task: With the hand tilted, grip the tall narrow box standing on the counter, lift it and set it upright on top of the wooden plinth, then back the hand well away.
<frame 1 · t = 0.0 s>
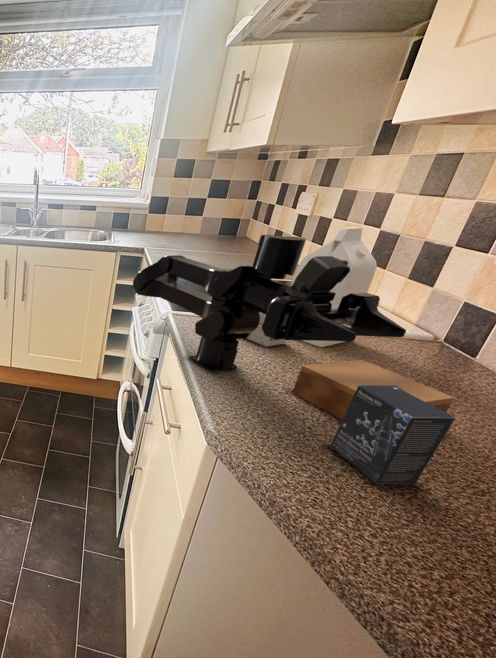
hand: (379, 335, 57), 17 cm above the countertop, tool horizontal, fingers open, 9 cm apart
box: (369, 466, 57), on the countertop
light bulb box: (254, 338, 101), on the countertop
wooden plinth: (360, 408, 72), on the countertop
milk: (309, 335, 104), on the countertop
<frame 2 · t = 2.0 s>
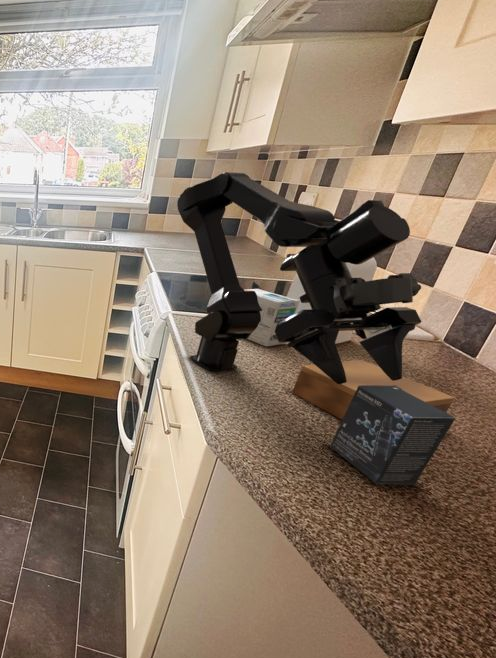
hand: (370, 381, 57), 11 cm above the countertop, tool tilted 45°, fingers open, 9 cm apart
nothing on the countertop moved.
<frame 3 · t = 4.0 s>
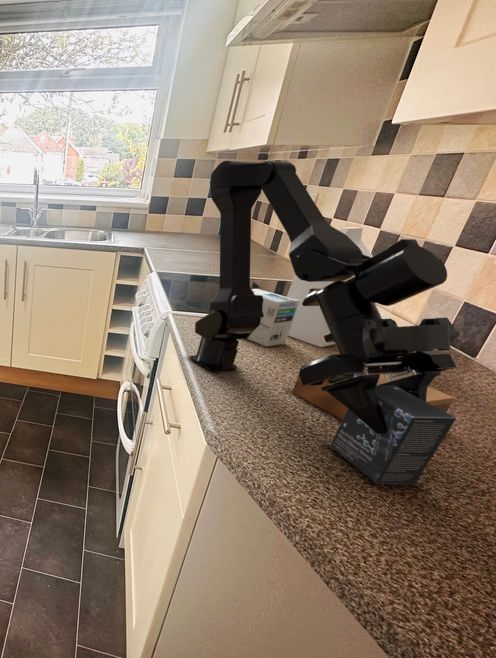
hand: (401, 431, 53), 7 cm above the countertop, tool tilted 45°, fingers closed on box, 6 cm apart
box: (369, 466, 57), on the countertop, touching gripper
everything else where it was.
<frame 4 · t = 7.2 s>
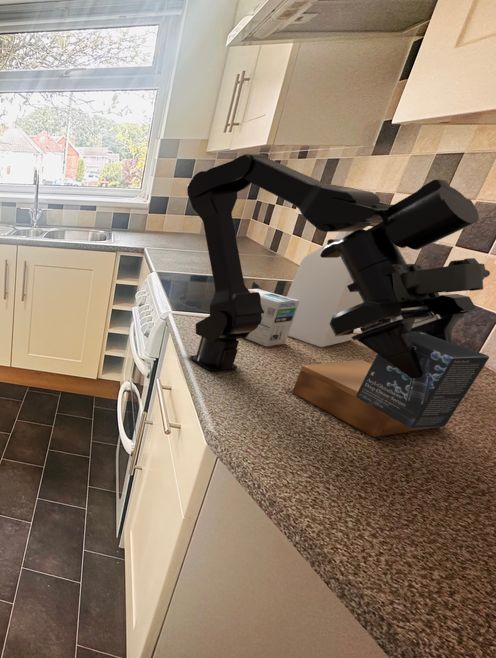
hand: (433, 375, 53), 13 cm above the countertop, tool tilted 45°, fingers closed on box, 6 cm apart
box: (396, 413, 57), point 7 cm above the countertop, touching gripper
everything else where it was.
when the fingers open (12 cm above the countertop, at t = 10.5 s): box stays where it is, resting on wooden plinth.
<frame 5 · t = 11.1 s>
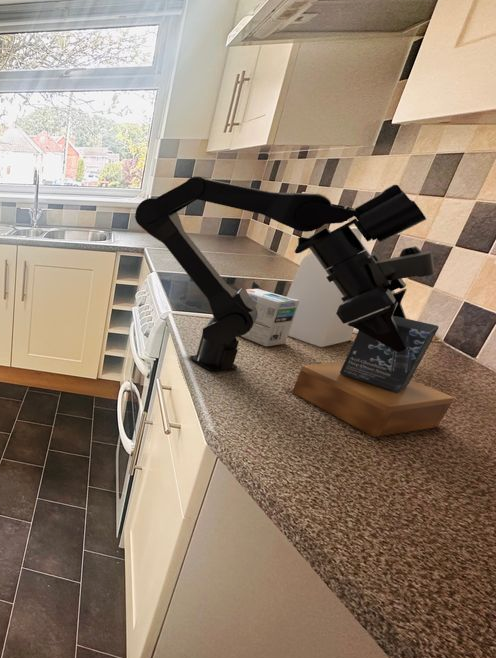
hand: (405, 343, 65), 13 cm above the countertop, tool tilted 45°, fingers open, 9 cm apart
box: (372, 381, 69), point 5 cm above the countertop, touching wooden plinth
everything else where it was.
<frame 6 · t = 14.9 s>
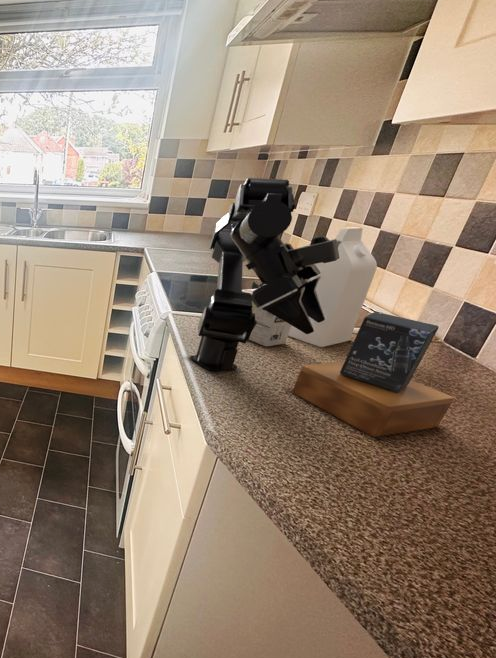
hand: (316, 326, 69), 13 cm above the countertop, tool tilted 45°, fingers open, 9 cm apart
nothing on the countertop moved.
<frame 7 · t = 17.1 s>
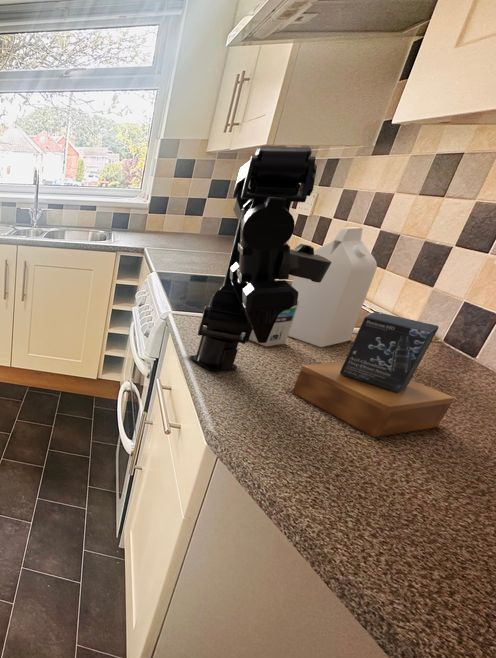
hand: (256, 332, 69), 12 cm above the countertop, tool pointing down, fingers open, 9 cm apart
nothing on the countertop moved.
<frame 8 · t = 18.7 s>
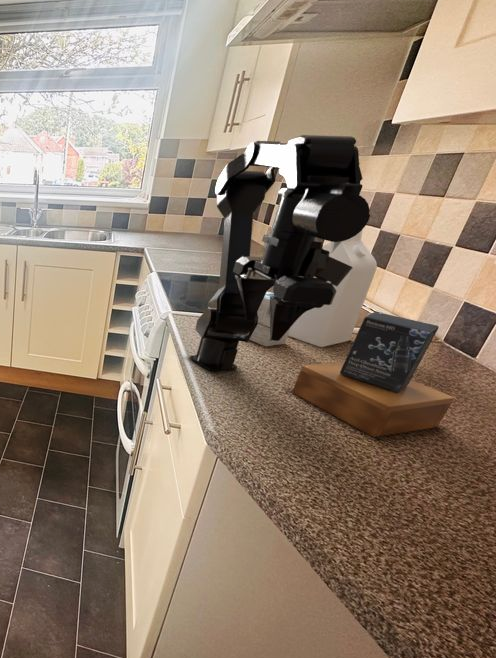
hand: (261, 329, 68), 13 cm above the countertop, tool pointing down, fingers open, 9 cm apart
nothing on the countertop moved.
at the end: box inside the target area on the wooden plinth (0.2 cm from its centre), point 5.3 cm above the wooden plinth's base; box tilted 0°; the gripper is holding nothing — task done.
